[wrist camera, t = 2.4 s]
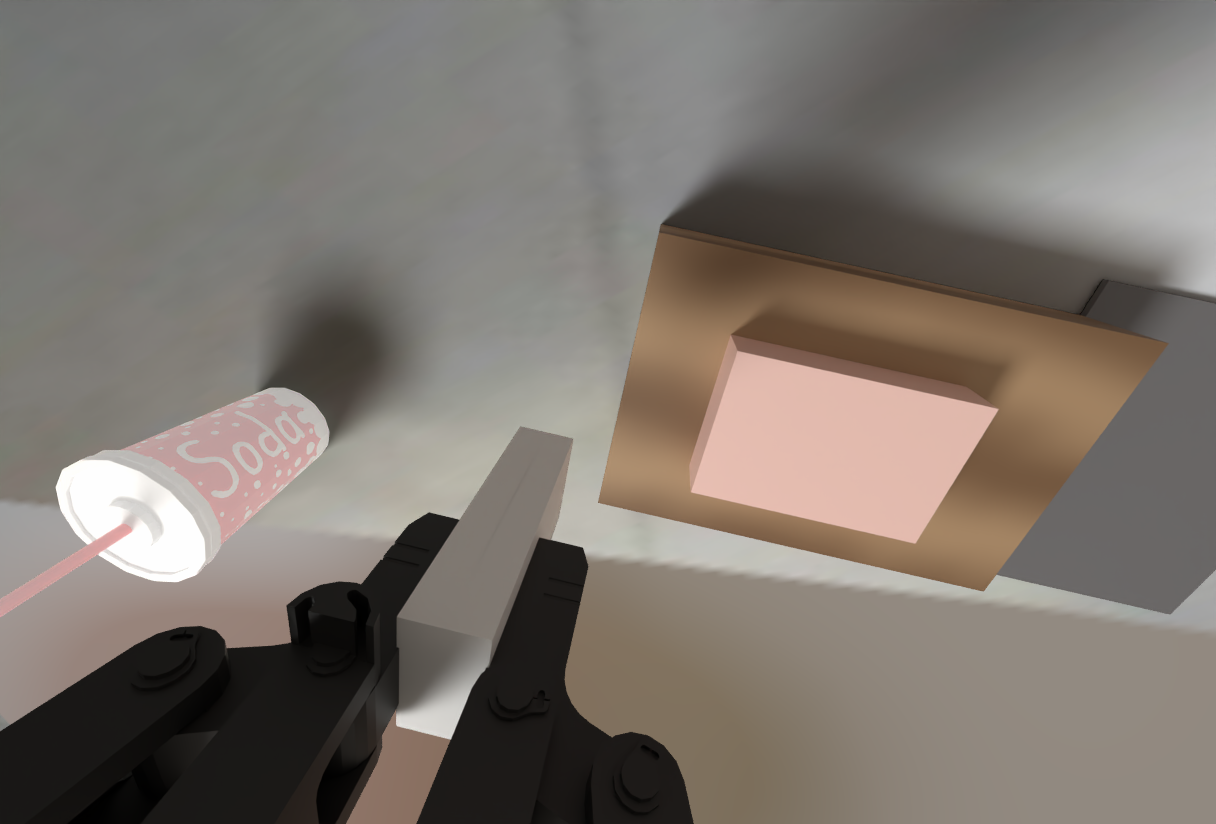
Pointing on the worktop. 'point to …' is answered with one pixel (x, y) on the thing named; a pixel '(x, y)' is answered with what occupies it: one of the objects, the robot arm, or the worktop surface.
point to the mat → (1140, 471)
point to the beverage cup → (183, 488)
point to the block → (834, 439)
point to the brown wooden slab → (882, 337)
